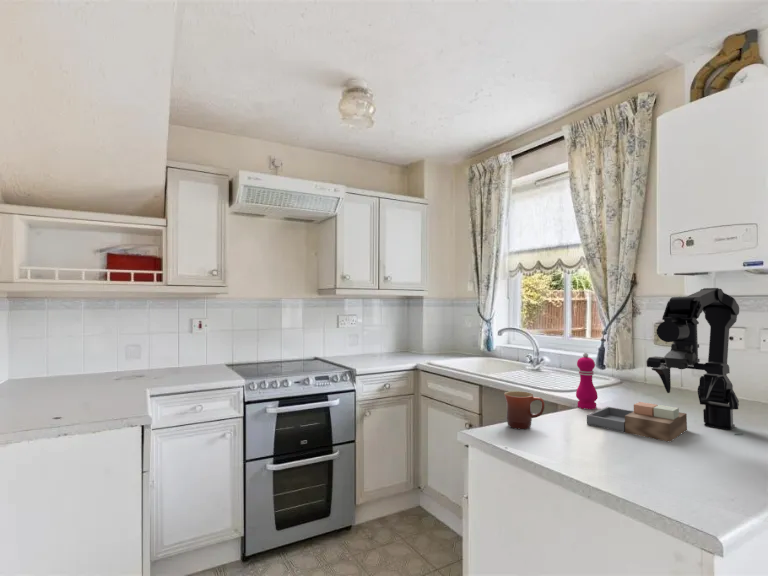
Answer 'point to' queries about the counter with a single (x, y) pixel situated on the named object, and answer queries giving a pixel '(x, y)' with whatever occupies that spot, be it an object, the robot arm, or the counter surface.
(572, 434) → the counter surface
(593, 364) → the pepper mill
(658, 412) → the tile sage
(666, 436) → the brown wooden block
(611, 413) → the box
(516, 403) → the mug
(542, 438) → the counter surface
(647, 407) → the tile terracotta
